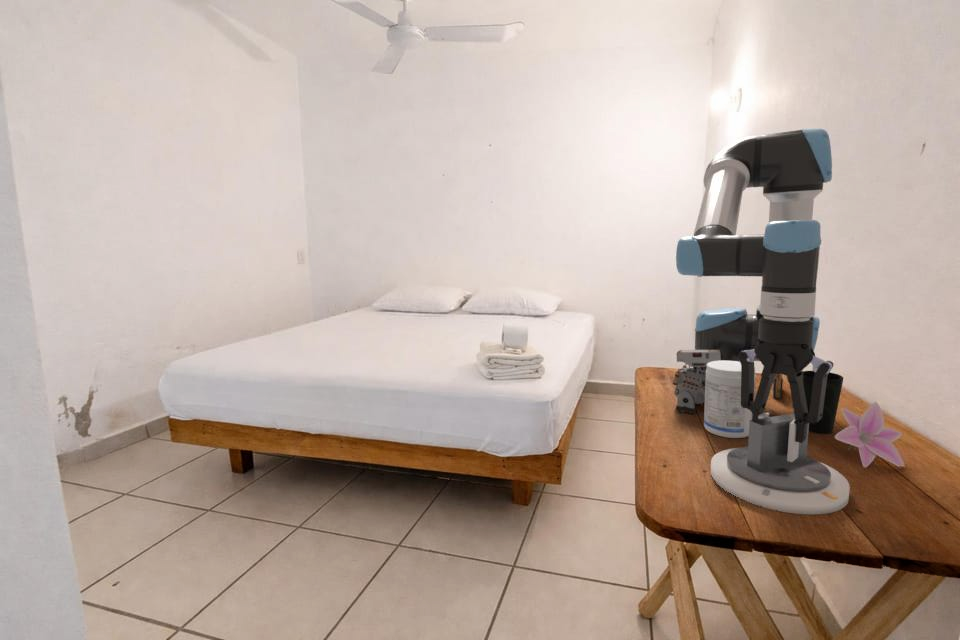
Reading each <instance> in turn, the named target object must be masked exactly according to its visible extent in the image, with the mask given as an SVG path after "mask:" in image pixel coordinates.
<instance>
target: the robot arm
mask: <svg viewBox="0 0 960 640" xmlns="http://www.w3.org/2000/svg"><path fill="white" fill-rule="evenodd" d="M831 148H832V146H831V140H830V135H829V133H828V131H826V129H823V128H813V129H812V128H810V129H809V128H808V129H803V128H802V129H798V130H797V129H796V130H790V131H784V132H777V133H768V134H761V135H760V134H759V135H751V136H750V135H749V136H746V137H743V138H740V139H739V140H736V141H734V142H732V143H730V144H729V145H727V146H726V147H724V148H723V149H721V150H720V151H719V152H718V153H717V154H716V155H715V156H714V157H713V159H711V161H710V162H709V163H708V165H707V167H706V169H705V173H704V174H703V175H704V176H703V186H704V188H705V190H704V193H703V198H702V202H701V204H700V209H699V212H698V216H697V220H696V224H695V228H694V231H693V234H692V235H690V236H683V237H681V238H680V239H679V240H678V241H677V245H676V251H675V252H676V255H675V264H676V270H677V272H678V274H680V275H682V276H691V277H692V276H694V277H696V276H697V277H699V278H701V277H762V280H761V286H760V287H761V290H760V304H759V305H758V306H757V307H756V313H755V314H748V311H747V309H746V308H744V307H724V308H715V309H710V310H709V309H708V310H704V311H701V312H700V313H699V314H697V316H696V320H695V328H694V332H695V334H694V335H695V336H694V339H695V340H694V350H715V349H716V350H720V354H721V355H722V356H723V357H722V359H721V360H726V361H738V362H740V363H741V406H742V407H743V408H747V409H749V410H750V411H751V412H752V420H755V419H762V418H768V417H770V413H769V412H766V411H765V410H766V409H767V407H766V406H767V402H768V399H769V395H770V393H771V390H772V388H773V381H774V377H775V375H776V374H778V373H780V374H783V375H784V377H785V376H786V378H787V382H788V384H789V390H790V396H791V402H792V408H793V409H792V410H793V413H794V415H795V420H793V421H792V422H790V427H789V441H788V455H787V461H790V462H793V461H794V460H795V459H797V458H798V450H799V443H803V442H804V441H805V440H806V437H807V424H808V423H816V422H818V421H819V420H820V419H821V418H822V415H823V407H824V399H825V391H826V383H827V376H828V374H829V372H830V373H831V370H833V368H834V363H833V361H831V360H824V359H822V358H820V357H818V356H817V355H816V354H815V349H816V345H817V340H818V337H819V336H818V335H819V329H820V325H821V324H820V321H821V320H820V318H819V317H817V316H815V315H816V314H815V313H816V300H817V299H816V298H817V297H816V296H817V280H818V279H817V278H818V269H819V260H820V249H821V248H820V246H821V245H822V237H821V224H820V222H819V221H818V220H815V219H813V215H814V214H813V213H814V204H815V203H814V202H815V201H814V200H815V199H816V198H817V196H819V195H820V193H823V190H824V189H823V188H824V183H825V184H827V183H829V182H831V181H832V178H833V158H832V149H831ZM748 188H762V196H763V197H765V198H766V199H767V200H768V201H769V211H768V212H769V213H768V223H767V224H766V226H765V229H764V234H763V233H762V234H737V229H738V223H739V217H740V211H741V206H742V205H741V204H742V198H743V192H744V191H745V190H746V189H748ZM755 362H760V363H761V365H762V372H761V377H760V378H761V379H760V381H759V384H758V388H757V391H756V393H755V398H754V367H755ZM810 364H811V365H812V371H814V372H815V375H814V379H813V387H812V395H811V403H810V411H809V414H808V409H807V403H806V397H805V391H804V384H803V370H804V369H805V368H806V367H807V366H809V365H810ZM706 369H707V367H704V368H703V371H705V372H706ZM783 375H782V376H783Z"/></svg>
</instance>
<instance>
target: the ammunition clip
mask: <svg viewBox="0 0 960 640" xmlns="http://www.w3.org/2000/svg"><path fill="white" fill-rule="evenodd" d="M783 381H784V379H783V374H780V373H778V374H776V375H775V377H774V381H773V384H772V398H773V399H777V400H778V399H779V400H782V397H783V384H784V383H783Z"/></svg>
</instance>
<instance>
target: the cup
mask: <svg viewBox="0 0 960 640" xmlns="http://www.w3.org/2000/svg"><path fill="white" fill-rule="evenodd" d="M802 371H803V370H802ZM814 375H815V372H814V371H813V370H804V371H803V384H804V391H805V397H806V403H807V409H808V414H809V411H810V403H811V395H812V387H813V379H814ZM843 382H844V376H842V375H841V374H838V373H834V372H831V371H830V372H829V374H828V376H827V383H826V391H825V399H824V407H823V415H822V418H821V419H820V420H819V421H818V422H816V423H809V432H808V433H814V434H819V435H821V434H822V435H830V434H832V433H833V432H834V426H835V422H836V417H837V414H838V413H837V412H838V407H839V403H840V399H841V398H840V397H841V393H842V388H843Z"/></svg>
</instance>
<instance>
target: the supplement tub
mask: <svg viewBox="0 0 960 640" xmlns="http://www.w3.org/2000/svg"><path fill="white" fill-rule="evenodd" d="M756 378H757V376H756V366H754V399H755V397H756ZM703 412H704V414H703V416H704V417H703V419H704V420H703V427H704V429H705V430H706V431H708V433H711V434H713V435H715V436H718V437H723V438H727V439H742V438H748V437H749V421H750V420H752V412H751V411H750V410H749V409H747V408H743V407H742V406H741V363H740V362H738V361H726V360H721V361H712V362H709V363H707V369H706V379H705V402H704V411H703Z"/></svg>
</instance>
